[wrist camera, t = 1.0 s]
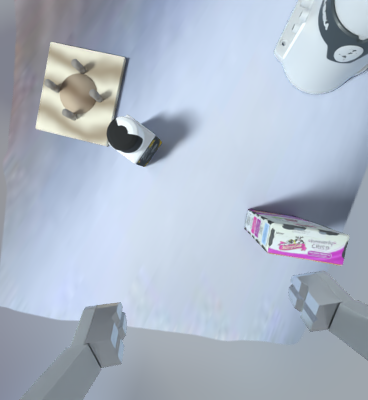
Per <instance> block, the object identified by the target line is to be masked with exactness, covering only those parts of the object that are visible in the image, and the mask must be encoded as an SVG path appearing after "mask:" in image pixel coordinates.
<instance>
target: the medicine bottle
mask: <svg viewBox="0 0 368 400" xmlns="http://www.w3.org/2000/svg"><path fill="white" fill-rule="evenodd" d="M107 139H108V142H109V143H108V144H109V145H110V146H111V147H113V148H114V149H115V150H117V151H118V152H120V153H121V154H122V155H124V156H125V157H126V158H128V159H129V160H130V161H132V162H133V163H134V164H137V165H140V166H143V167H145V166H146V165H147V164H148V162H149V161H150V159H151V158H152V156H153V155H154V154H155V152H156V151H157V149H158V148H159V146H160V145H161V143H162V142H161V140H160V139H159V138H158V137H157V136H156V135H155V134H154V133H152V132H151V131H150V130H148V129H147V128H146V127H144V126H143V125H142V124H140V123H139V122H138V121H136V120H135V119H133V118H132V117H131V116H129V115H126V117H124V116H122V117H117V118H115V119H114V120H112V121H111V122H110V124H109V126H108V128H107Z"/></svg>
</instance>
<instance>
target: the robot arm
mask: <svg viewBox="0 0 368 400" xmlns="http://www.w3.org/2000/svg"><path fill="white" fill-rule="evenodd" d="M282 44H284V45H285V46H282ZM274 55H275V57H276V58H277V59H278V60H279V61H280V62H281V63H282V65H283V67H284V70H285V73H286V76H287V78H288V79H289V81H290V82H291V83H292V84H293V85H294V86H295V87H296V88H297V89H299V90H301V91H303V92H306V93H309V94H324V93H328V92H331V91H333V90H335V89H337V88H338V87H340V86H341V85H342V84H344V83H345V82H346V81H347V80H348V79H349V78H351V77H353V76H356V75H359V74H361V73H362V72H364V71H365V70H366V69H367V68H368V0H298V1H297V3H296V5H295V7H294V10H293V12H292V14H291V16H290V18H289V20H288V22H287V24H286V26H285V28H284V30H283V32H282V34H281V36H280V39H279V41H278V43H277V45H276V47H275V49H274ZM291 282H292V285H291V286H290V287H289V291H288V294H289V298H290V301H291V303H292V305H293V306H294V308H295V309H297V310H298V311H300V312H301V319H302V320H303V322H304V323H305V325H306V326H307V328H308V329H309V331H310V332H313V331H320V330H327V329H329V331H330V332H331V333H333V334H334V335H335V336H337V337H338V338H339V339H340V340H342V341H343V342H345V343H346V344H347V345H348V346H350V347H351V348H352V349H353V350H355V351H356V352H357V353H359V354H360V355H361V356H363V357H364V358H365V359H367V360H368V305H367V304H365V303H363V302H361V301H359V300H354V299H353V298H352V297H351V296H350V295H349V294H348V293H347V292H346V291H345V290H344V289H343V288H342V287H341V286H340V285H339V284H338V283H337V282H336V281H335V280H334V279H333V278H332V277H331V276H330V275H329V274H328V273H327V272H326V271H318V272H310V273H304V274H299V275H293V276H292V277H291ZM122 308H123V307H122V304H121V302H119V303H111V304H103V305H95V306H88V307H86V308H85V309H84V311H83V313H82V316H81V318H80V321H79V324H78V327H77V329H76V332H75V335H74V337H73V340H72V343H71V346H70V347H67V348H66V349H65V350H64V351H63V352H62V353H61V354H60V355H59V356H58V357H57V359H56V360H55V361H54V362H53V363H52V364H51V365H50V366H49V367H48V369H47V370H46V371H45V372H44V373H43V374H42V375H41V376H40V378H39V379H38V380H37V381H36V382H35V383H34V384H33V385H32V386H31V387H30V388H29V390H28V391H27V392H26V393H25V394H24V395H23V396H22V397H21V398H20V400H83V399H84V397H85V395H86V394H87V392H88V390H89V389H90V387H91V385H92V384H93V382H94V381H95V379H96V377H97V376H98V374H99V373H100V371H101V368H104V367H109V366H114V365H119V364H122V358H123V351H124V345H123V342H122V340H123V339H124V337H125V336H126V330H127V320H126V315H125V313H124V312H122Z"/></svg>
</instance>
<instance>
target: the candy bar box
mask: <svg viewBox="0 0 368 400" xmlns="http://www.w3.org/2000/svg"><path fill="white" fill-rule="evenodd" d="M244 229H245V230H246V231H247V232H248V233H249V234H250V235H251V236H252V237H253V238H254V239H255V240H256V241H257V242H258V243H259V244H260V246H261V247H262V248H263V249H264V250H265V251H266V252H267V253H270V254H276V255H283V256H289V257H295V258H300V259H307V260H312V261H318V262H323V263H329V264H335V265H341V266H342V265H343V261H344V256H345V250H346V247H347V244H348V239H349V235H346V234H344V233H341V232H338V231H335V230H332V229H330V228H327V227H324V226H321V225H318V224H315V223H313V222H310V221H307V220H304V219H301V218H298V217H295V216H289V215H282V214H276V213H270V212H264V211H257V210H251V209H248V212H247V218H246V222H245V228H244Z"/></svg>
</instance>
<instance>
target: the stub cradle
mask: <svg viewBox="0 0 368 400" xmlns="http://www.w3.org/2000/svg"><path fill="white" fill-rule="evenodd" d="M125 63H126V59H125V57H120V56H116V55H111V54H106V53H101V52H97V51H92V50H87V49H82V48H77V47H73V46H68V45H63V44H58V43H54V42H51V43H50V49H49V55H48V60H47V66H46V72H45V78H44V83H43V89H42V95H41V100H40V106H39V112H38V117H37V123H36V129H38V130H42V131H46V132H50V133H54V134H58V135H63V136H67V137H71V138H75V139H79V140H83V141H87V142H91V143H95V144H99V145H103V146H107V147H108V143H109V142H108V139H107V128H108V126H109V124H110V122H111V121H112V120H114V115H115V111H116V106H117V101H118V96H119V92H120V87H121V82H122V77H123V73H124V68H125Z"/></svg>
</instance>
